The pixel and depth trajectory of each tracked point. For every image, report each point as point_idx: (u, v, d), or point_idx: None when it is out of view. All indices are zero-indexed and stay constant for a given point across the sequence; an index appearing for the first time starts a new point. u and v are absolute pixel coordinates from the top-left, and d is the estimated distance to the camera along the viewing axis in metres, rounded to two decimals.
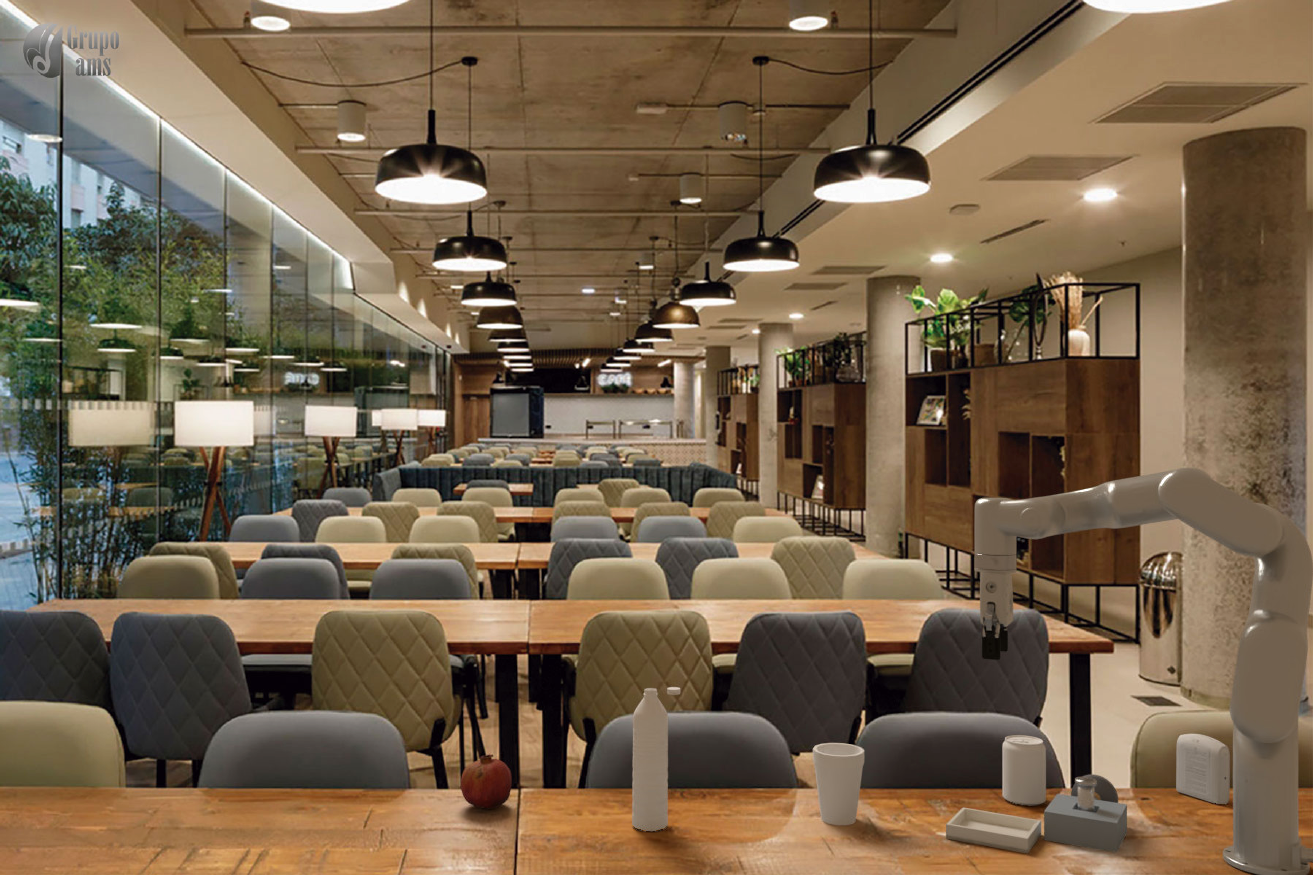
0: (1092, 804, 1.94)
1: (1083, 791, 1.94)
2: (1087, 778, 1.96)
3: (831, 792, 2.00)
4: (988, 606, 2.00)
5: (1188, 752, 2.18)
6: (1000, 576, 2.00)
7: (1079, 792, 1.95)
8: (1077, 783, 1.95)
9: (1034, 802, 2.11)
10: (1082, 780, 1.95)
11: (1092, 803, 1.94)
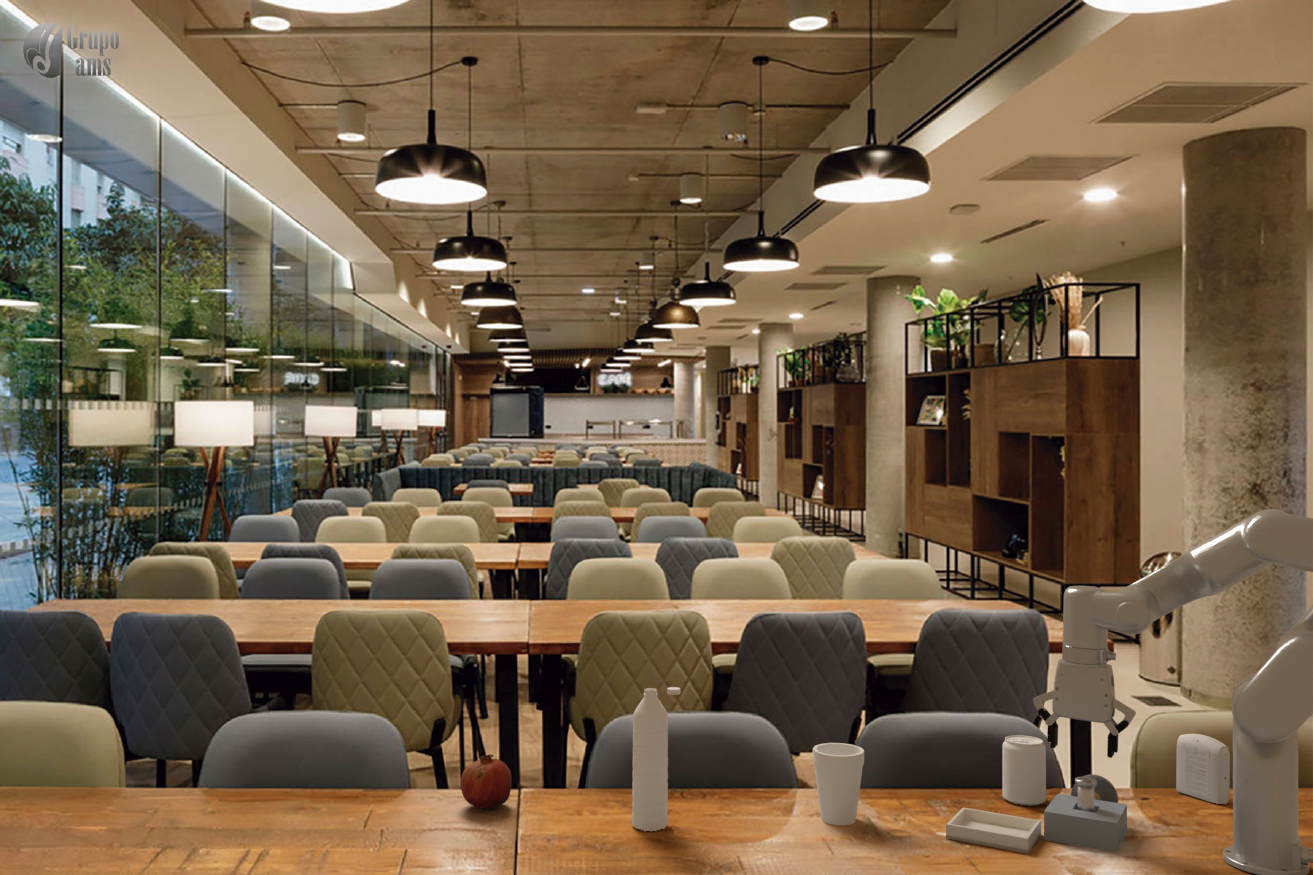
0: (1092, 804, 1.94)
1: (1083, 791, 1.94)
2: (1087, 778, 1.96)
3: (831, 792, 2.00)
4: (1118, 701, 1.92)
5: (1188, 752, 2.18)
6: None
7: (1079, 792, 1.95)
8: (1077, 783, 1.95)
9: (1034, 802, 2.11)
10: (1082, 780, 1.95)
11: (1092, 803, 1.94)
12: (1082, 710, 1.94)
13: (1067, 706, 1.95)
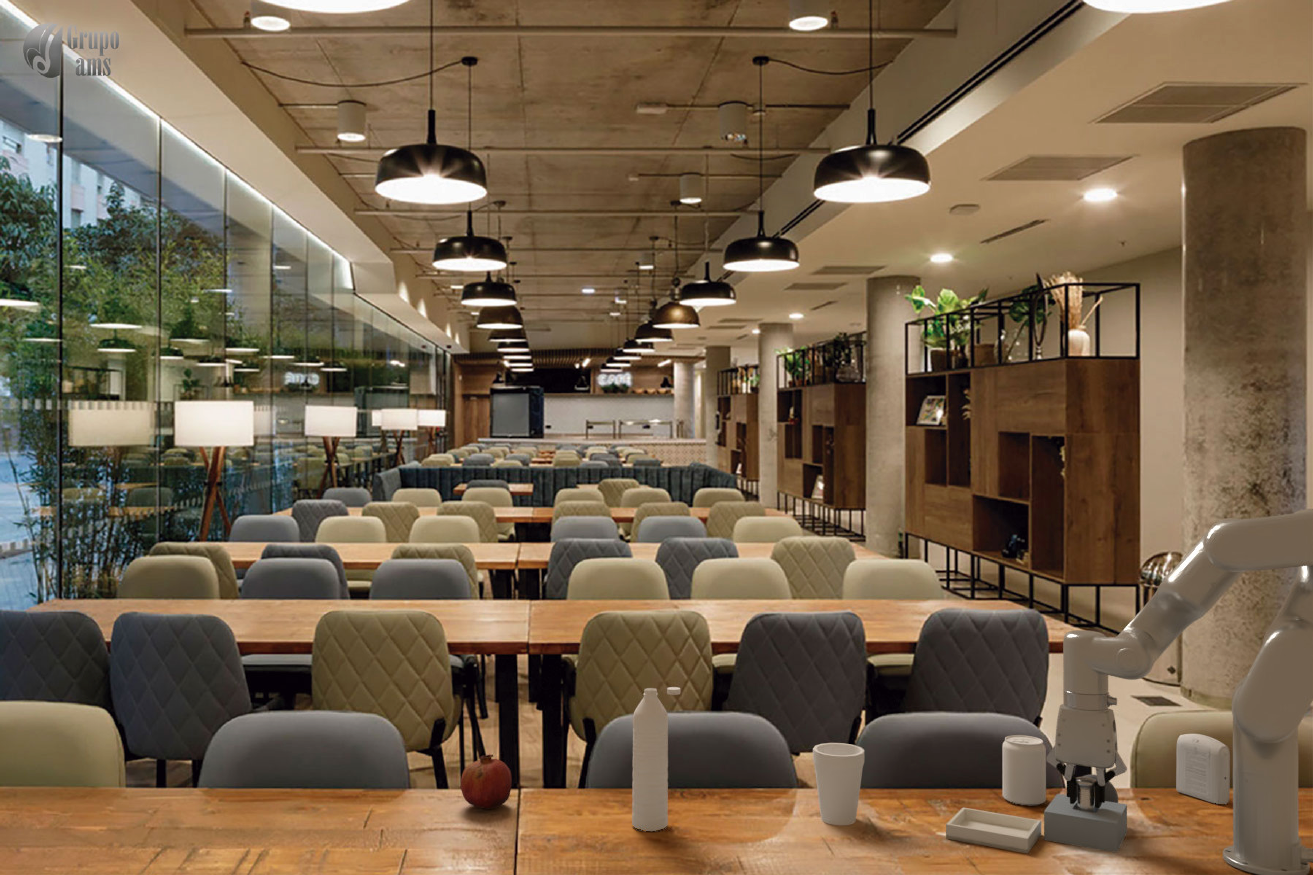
0: (1092, 804, 1.94)
1: (1083, 791, 1.94)
2: (1087, 778, 1.96)
3: (831, 792, 2.00)
4: (1116, 753, 1.92)
5: (1188, 752, 2.18)
6: None
7: (1079, 792, 1.95)
8: (1077, 783, 1.95)
9: (1034, 802, 2.11)
10: (1082, 780, 1.95)
11: (1092, 803, 1.94)
12: (1085, 756, 1.93)
13: (1070, 752, 1.95)
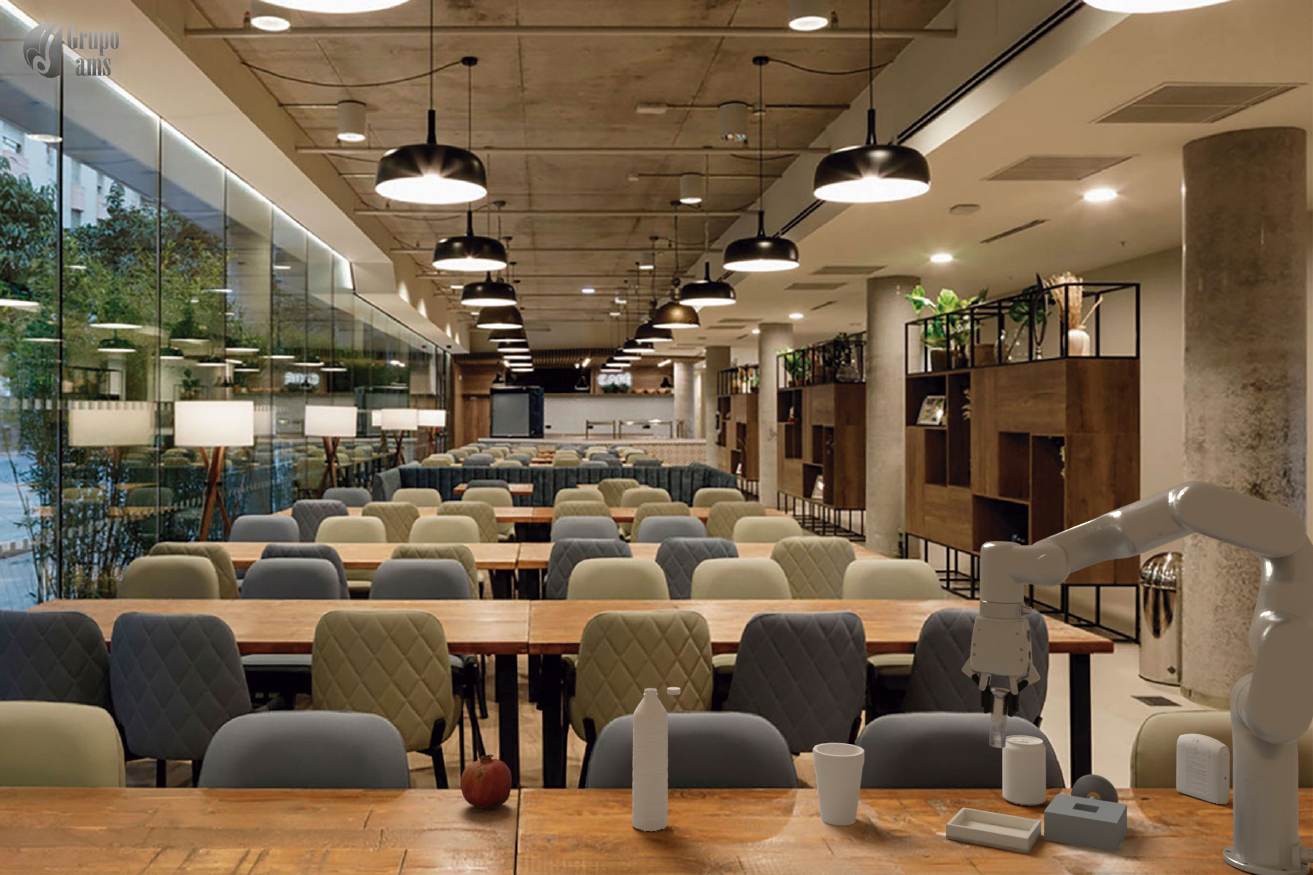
0: (1005, 714, 1.94)
1: (996, 701, 1.94)
2: (1002, 689, 1.96)
3: (831, 792, 2.00)
4: (1030, 662, 1.92)
5: (1188, 752, 2.18)
6: (1028, 623, 1.94)
7: (993, 701, 1.95)
8: (991, 692, 1.95)
9: (1034, 802, 2.11)
10: (996, 690, 1.95)
11: (1005, 713, 1.94)
12: (998, 665, 1.93)
13: (984, 661, 1.95)
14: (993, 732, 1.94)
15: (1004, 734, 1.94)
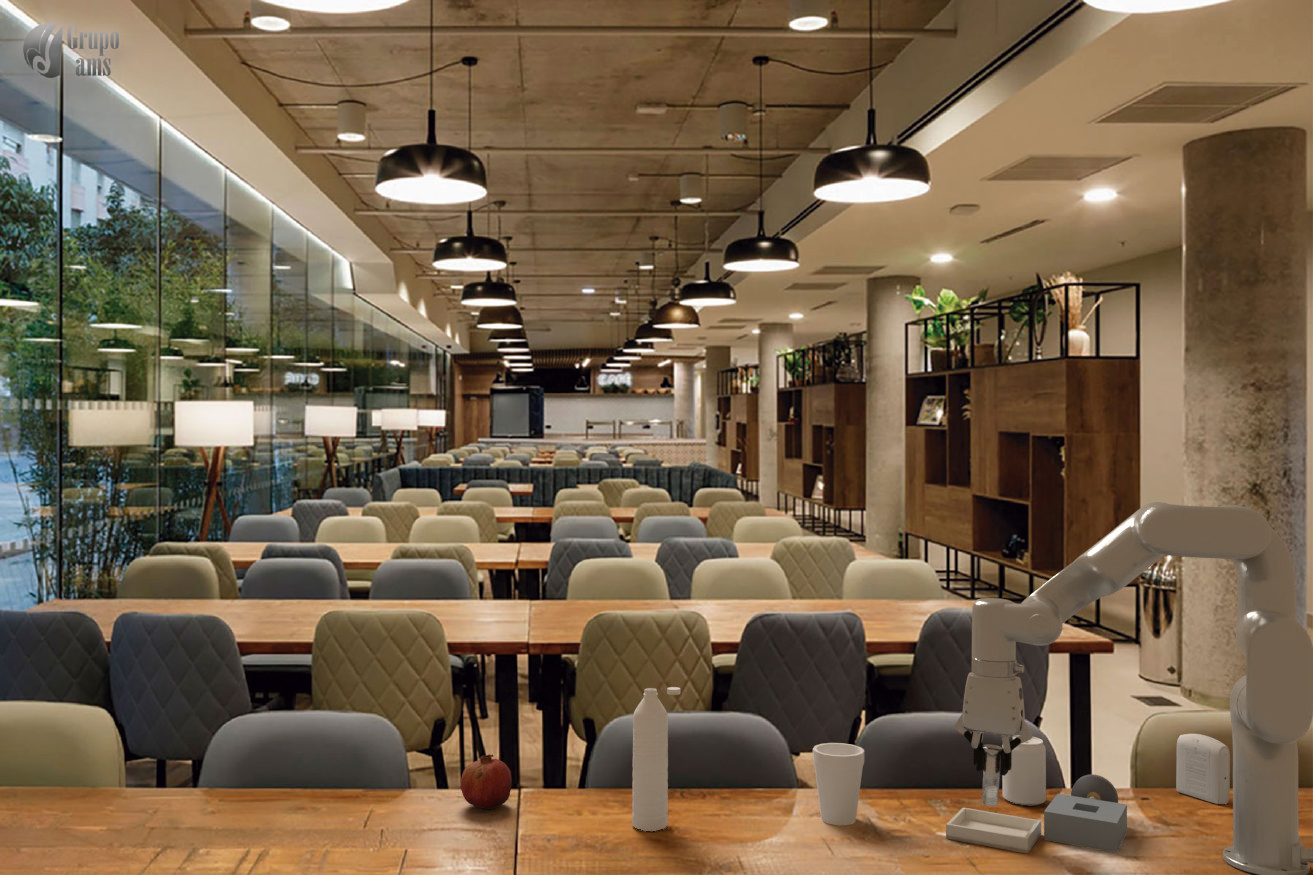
0: (997, 772, 1.94)
1: (989, 759, 1.94)
2: (994, 746, 1.96)
3: (831, 792, 2.00)
4: (1022, 720, 1.92)
5: (1188, 752, 2.18)
6: (1020, 680, 1.94)
7: (985, 759, 1.95)
8: (983, 750, 1.94)
9: (1034, 802, 2.11)
10: (989, 747, 1.94)
11: (997, 771, 1.94)
12: (991, 723, 1.93)
13: (976, 719, 1.94)
14: (985, 790, 1.94)
15: (997, 792, 1.94)
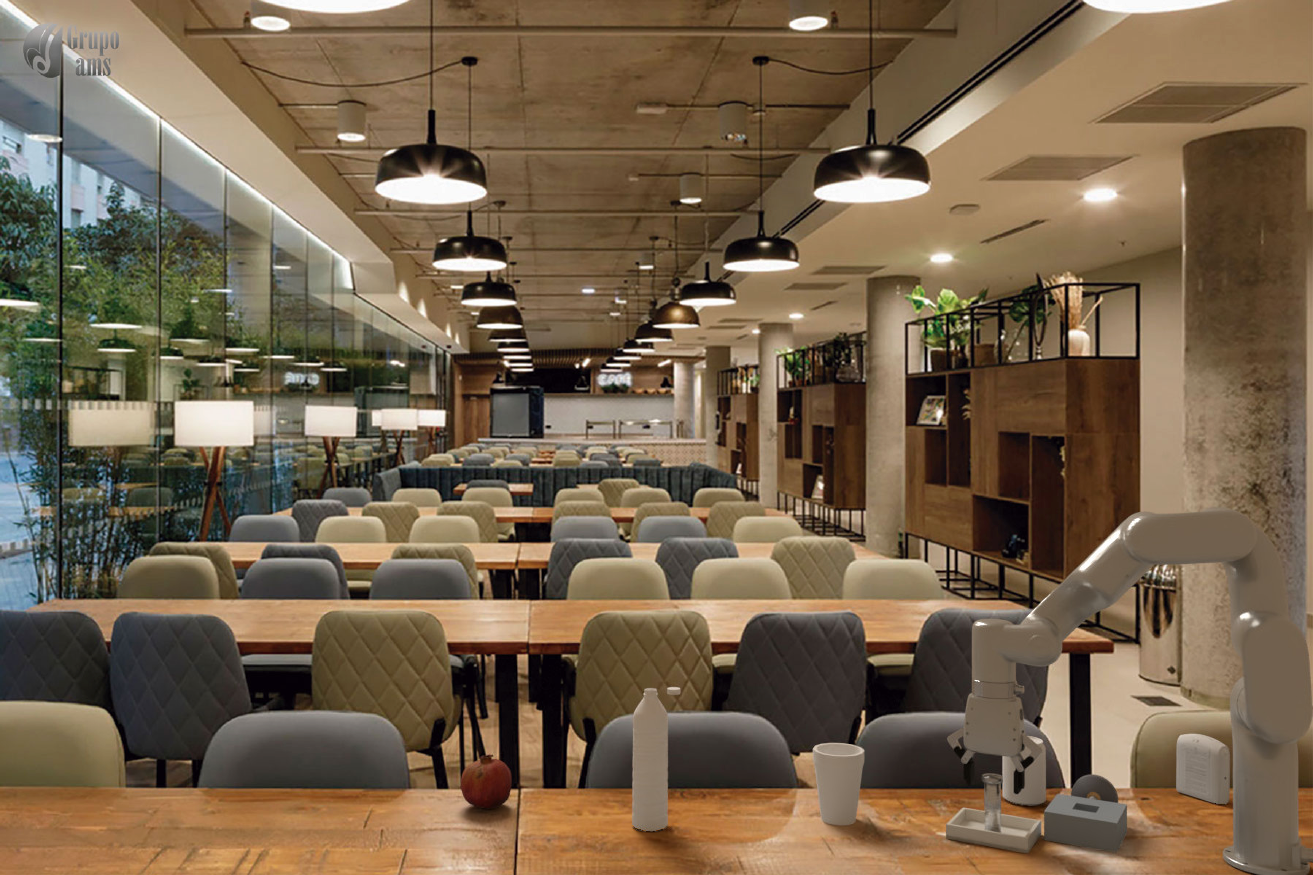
0: (998, 801, 1.94)
1: (989, 788, 1.94)
2: (994, 775, 1.96)
3: (831, 792, 2.00)
4: (1026, 737, 1.92)
5: (1188, 752, 2.18)
6: None
7: (985, 789, 1.94)
8: (983, 780, 1.94)
9: (1034, 802, 2.11)
10: (988, 777, 1.94)
11: (998, 800, 1.94)
12: (992, 744, 1.93)
13: (977, 740, 1.94)
14: (987, 820, 1.94)
15: (999, 821, 1.94)
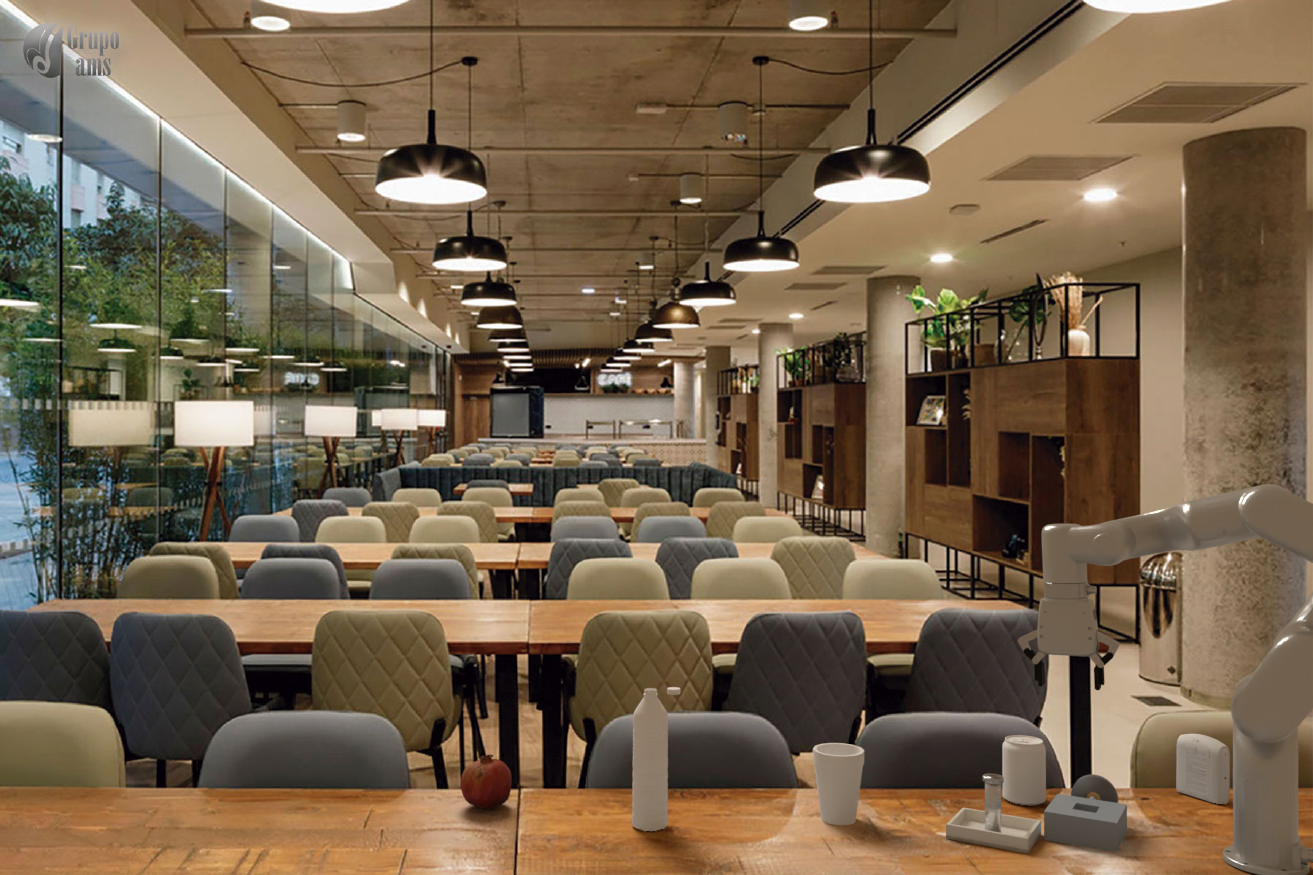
0: (998, 801, 1.94)
1: (990, 788, 1.94)
2: (995, 775, 1.96)
3: (831, 792, 2.00)
4: (1101, 634, 1.95)
5: (1188, 752, 2.18)
6: None
7: (986, 789, 1.94)
8: (984, 780, 1.94)
9: (1034, 802, 2.11)
10: (989, 777, 1.94)
11: (999, 800, 1.94)
12: (1067, 645, 1.96)
13: (1052, 643, 1.97)
14: (987, 820, 1.94)
15: (999, 821, 1.94)
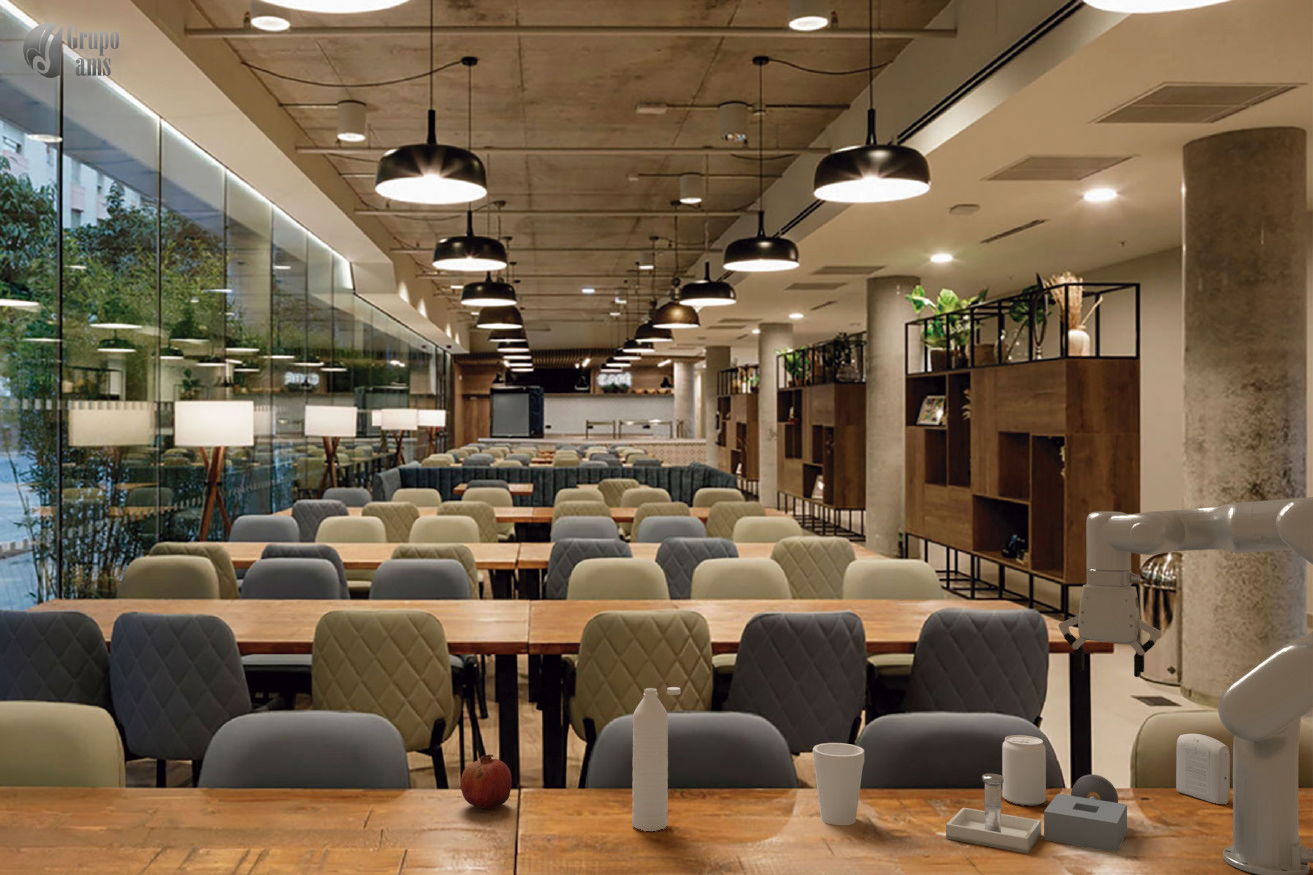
0: (998, 801, 1.94)
1: (990, 788, 1.94)
2: (994, 775, 1.96)
3: (831, 792, 2.00)
4: (1143, 622, 1.96)
5: (1188, 752, 2.18)
6: None
7: (986, 789, 1.94)
8: (984, 780, 1.94)
9: (1034, 802, 2.11)
10: (989, 777, 1.94)
11: (999, 800, 1.94)
12: (1108, 632, 1.97)
13: (1093, 629, 1.99)
14: (987, 820, 1.94)
15: (999, 821, 1.94)
